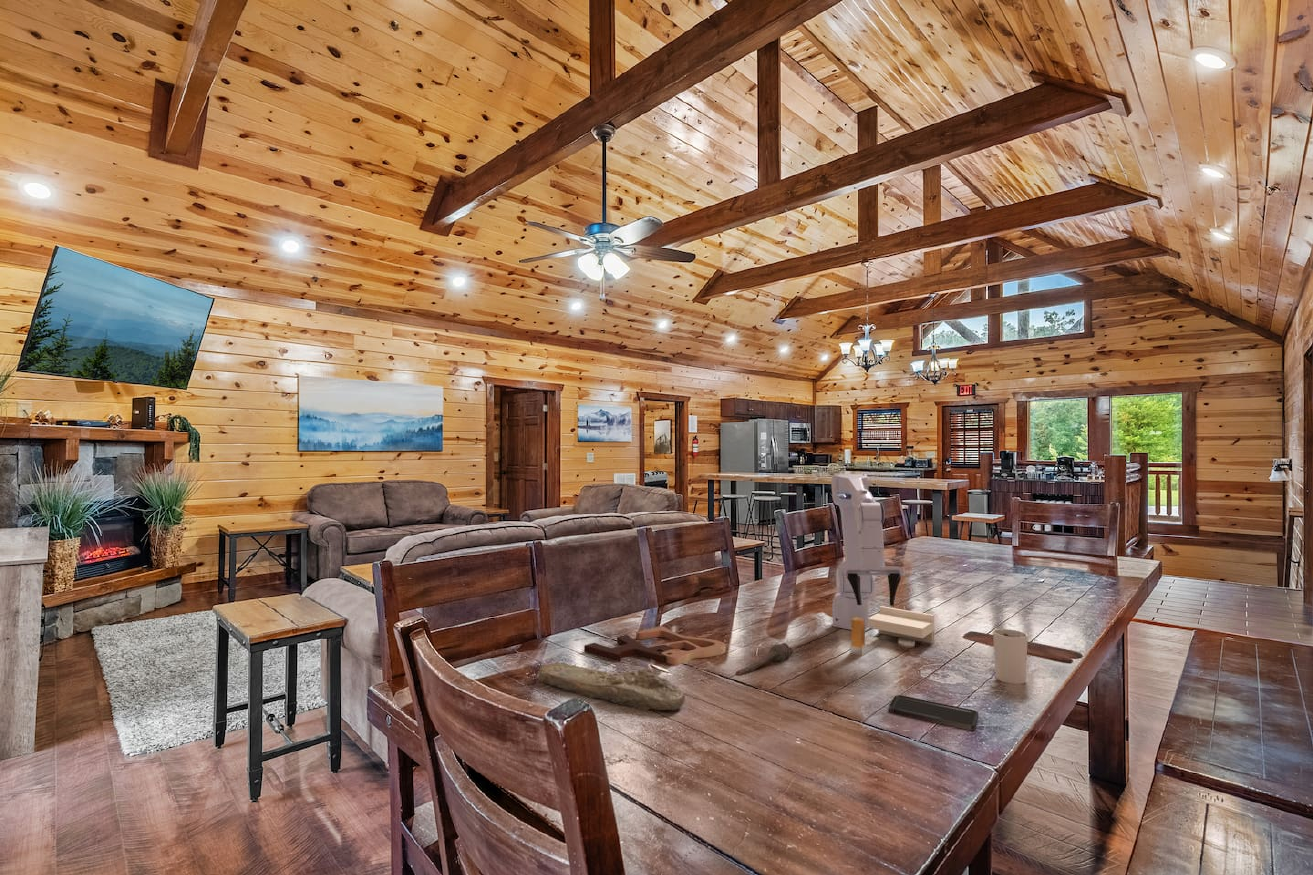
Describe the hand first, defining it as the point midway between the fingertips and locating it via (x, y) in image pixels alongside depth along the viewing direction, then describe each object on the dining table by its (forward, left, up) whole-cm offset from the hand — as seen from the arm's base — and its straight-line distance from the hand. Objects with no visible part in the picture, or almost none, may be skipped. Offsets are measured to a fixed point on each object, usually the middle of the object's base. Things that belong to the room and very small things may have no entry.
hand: (875, 605), depth 152 cm
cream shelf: (+1, +15, -12) cm, 19 cm away
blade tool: (-4, +2, -12) cm, 13 cm away
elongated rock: (-32, -60, -13) cm, 70 cm away
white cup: (+29, +4, -12) cm, 31 cm away
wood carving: (-41, -34, -13) cm, 55 cm away
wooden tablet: (+25, +31, -13) cm, 41 cm away
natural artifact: (-17, -23, -13) cm, 31 cm away
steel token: (+3, +12, -12) cm, 18 cm away
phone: (+22, -26, -13) cm, 36 cm away
